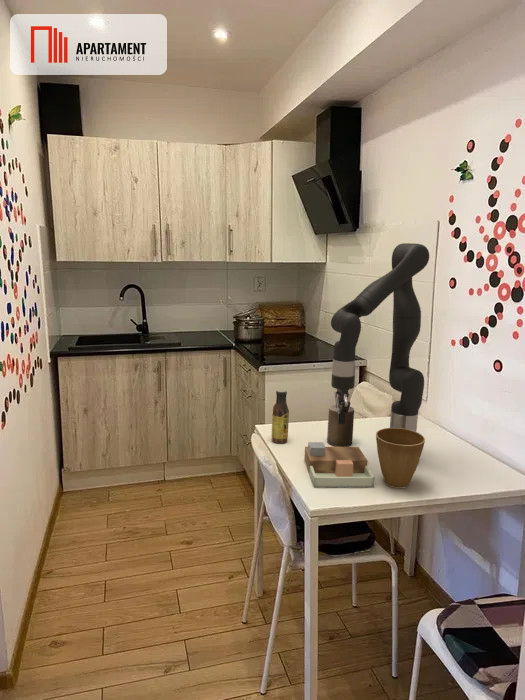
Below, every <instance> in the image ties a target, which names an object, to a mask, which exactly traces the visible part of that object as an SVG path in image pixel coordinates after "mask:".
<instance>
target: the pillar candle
mask: <svg viewBox="0 0 525 700" xmlns="http://www.w3.org/2000/svg"><path fill="white" fill-rule="evenodd" d="M354 418H355V408H354V407H352V406H350V407H349V410H348V413H346V414H345V424H339V423H338V412H337V408H336V404H333V405H331V406H329V407H328V420H327V438H326V441H327V444H328V445H330V446H333V447H352V445H353V440H354V439H353V437H354V421H355V419H354Z"/></svg>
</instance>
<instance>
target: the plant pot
mask: <svg viewBox="0 0 525 700" xmlns="http://www.w3.org/2000/svg"><path fill="white" fill-rule="evenodd" d="M375 441H376V449H377V455H378V456H377V457H378V461H379V466H380V470H381V474H382V478H383V480H384V483H385V485H387V486H389V487H391V488H397V489H404V488H407V487H408V486H409V485H410V482H411V481H412V480H413V477H414V475H415V473H416V470H417V468H418V465H419V463H420V460H421V456H422V453H423V450H424V446H425V443H426V438H425V436H424V435H422V434H421V433H419V432H418V431H417V432H415V431H412V430H409V429H403V428H390V427H386V428H385V427H384V428H382V429H379V430H378V431H376V432H375Z"/></svg>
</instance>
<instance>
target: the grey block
mask: <svg viewBox="0 0 525 700" xmlns="http://www.w3.org/2000/svg"><path fill="white" fill-rule="evenodd" d="M307 447H308V452H309V455H310V456H325V447H326V445H325V444H324V442H321V441H313V442H312V441H309V442H307Z"/></svg>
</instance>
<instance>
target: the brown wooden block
mask: <svg viewBox="0 0 525 700" xmlns="http://www.w3.org/2000/svg"><path fill="white" fill-rule="evenodd" d="M336 460H351V461H352V462H353V473H364V472H365V466H368V458H366V456H365V454H364V453H363V451H362V450H361V448H360V447H359V446H347V447H338V446H325V456H310V455H309V452H308V446H304V459H303V461H304V463H305V466H306V469H307V472H308V474H310V466H313V469H314V471H315V473H335V469H336Z"/></svg>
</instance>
